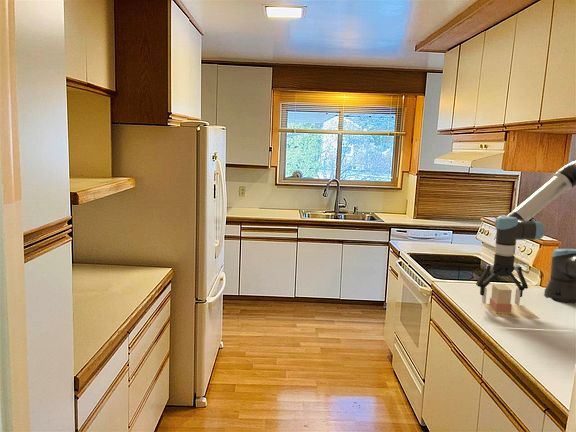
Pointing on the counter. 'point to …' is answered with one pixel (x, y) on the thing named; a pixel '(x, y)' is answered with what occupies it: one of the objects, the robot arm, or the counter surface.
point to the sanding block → (501, 299)
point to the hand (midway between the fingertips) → (500, 303)
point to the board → (514, 312)
